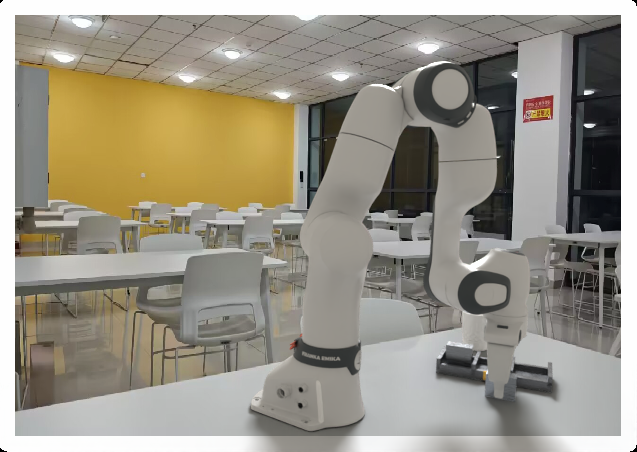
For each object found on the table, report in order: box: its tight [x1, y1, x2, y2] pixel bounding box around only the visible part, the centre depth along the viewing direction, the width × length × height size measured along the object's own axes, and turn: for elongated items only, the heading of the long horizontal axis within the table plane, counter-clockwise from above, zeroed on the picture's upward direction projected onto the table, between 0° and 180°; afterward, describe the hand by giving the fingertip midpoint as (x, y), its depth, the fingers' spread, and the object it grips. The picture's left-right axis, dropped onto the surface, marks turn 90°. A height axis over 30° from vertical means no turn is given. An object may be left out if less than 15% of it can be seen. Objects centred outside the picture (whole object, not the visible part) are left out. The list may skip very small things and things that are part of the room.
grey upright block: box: [484, 369, 517, 402], centre depth 109 cm, size 6×3×5 cm, turn 66°
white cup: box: [461, 311, 487, 352], centre depth 140 cm, size 8×8×10 cm
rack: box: [435, 340, 554, 393], centre depth 120 cm, size 25×10×6 cm, turn 66°
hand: (500, 388), depth 109 cm, fingers open, 8 cm apart
